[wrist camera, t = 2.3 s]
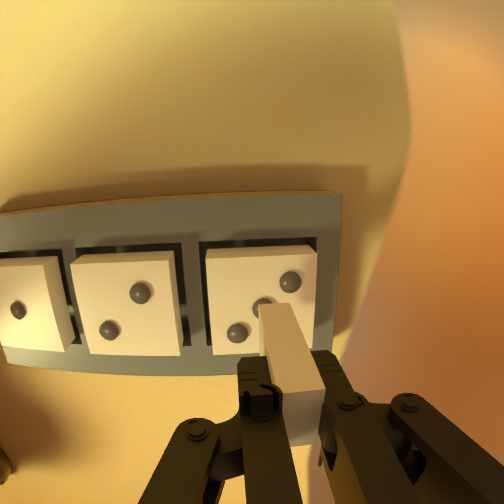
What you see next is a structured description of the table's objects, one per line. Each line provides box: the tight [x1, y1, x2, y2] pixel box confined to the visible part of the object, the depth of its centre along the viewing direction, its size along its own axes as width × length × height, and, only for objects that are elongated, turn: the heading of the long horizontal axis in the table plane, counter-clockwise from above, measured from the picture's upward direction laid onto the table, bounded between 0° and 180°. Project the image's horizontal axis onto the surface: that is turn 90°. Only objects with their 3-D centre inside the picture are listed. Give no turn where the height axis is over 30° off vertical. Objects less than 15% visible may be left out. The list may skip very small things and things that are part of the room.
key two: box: [70, 251, 183, 356], centre depth 18 cm, size 6×6×2 cm
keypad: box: [0, 191, 342, 376], centre depth 21 cm, size 26×12×3 cm, turn 91°
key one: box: [0, 256, 75, 352], centre depth 18 cm, size 6×6×2 cm
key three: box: [206, 245, 317, 355], centre depth 19 cm, size 6×6×2 cm
